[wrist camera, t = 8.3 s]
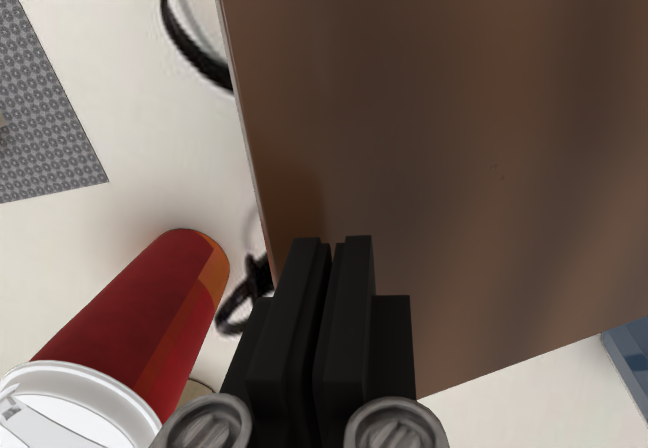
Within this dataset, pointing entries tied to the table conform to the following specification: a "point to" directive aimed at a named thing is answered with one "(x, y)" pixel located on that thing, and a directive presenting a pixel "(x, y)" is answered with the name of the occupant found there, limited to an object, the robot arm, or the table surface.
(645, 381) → the cup
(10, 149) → the architectural model
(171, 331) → the paper cup
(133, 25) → the table surface
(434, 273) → the box lid
